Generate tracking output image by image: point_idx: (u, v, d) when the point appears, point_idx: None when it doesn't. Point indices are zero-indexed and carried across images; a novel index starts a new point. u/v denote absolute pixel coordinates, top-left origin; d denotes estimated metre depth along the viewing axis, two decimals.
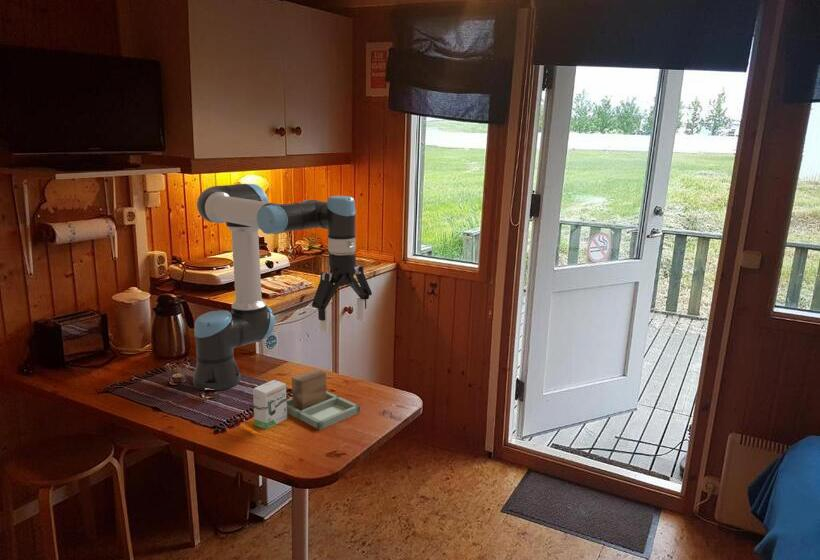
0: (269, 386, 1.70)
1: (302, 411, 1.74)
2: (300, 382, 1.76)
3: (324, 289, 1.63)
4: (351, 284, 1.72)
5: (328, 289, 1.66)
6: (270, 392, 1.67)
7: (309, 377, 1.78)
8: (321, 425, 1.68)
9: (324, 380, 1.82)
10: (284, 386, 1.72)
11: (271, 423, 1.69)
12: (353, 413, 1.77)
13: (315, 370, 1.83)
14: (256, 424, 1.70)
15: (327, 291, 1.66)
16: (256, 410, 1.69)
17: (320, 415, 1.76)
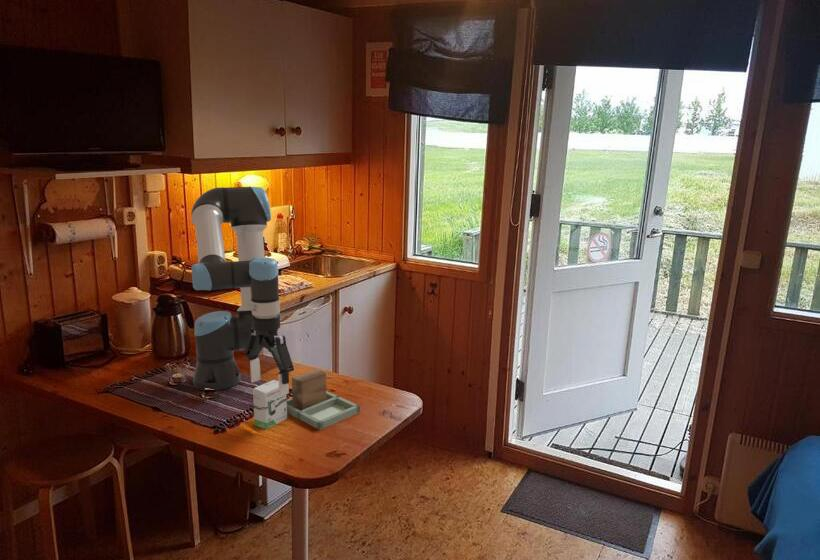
0: (269, 386, 1.70)
1: (302, 411, 1.74)
2: (300, 382, 1.76)
3: (248, 341, 1.71)
4: None
5: None
6: (270, 392, 1.67)
7: (309, 377, 1.78)
8: (321, 425, 1.68)
9: (324, 380, 1.82)
10: None
11: (271, 423, 1.69)
12: (353, 413, 1.77)
13: (315, 370, 1.83)
14: (256, 424, 1.70)
15: None
16: (256, 410, 1.69)
17: (320, 415, 1.76)
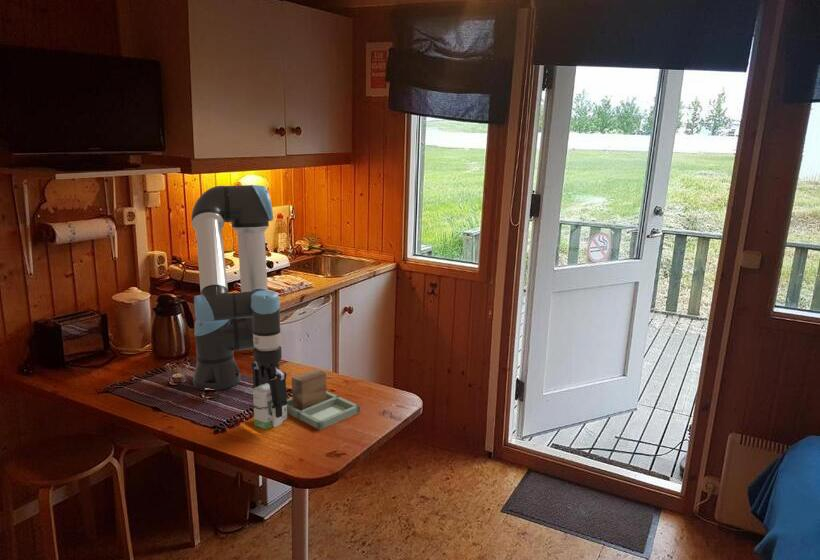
0: (269, 386, 1.70)
1: (302, 411, 1.74)
2: (300, 382, 1.76)
3: (253, 377, 1.73)
4: None
5: None
6: (270, 392, 1.67)
7: (309, 377, 1.78)
8: (321, 425, 1.68)
9: (324, 380, 1.82)
10: None
11: (271, 423, 1.69)
12: (353, 413, 1.77)
13: (315, 370, 1.83)
14: (256, 424, 1.70)
15: None
16: (256, 410, 1.69)
17: (320, 415, 1.76)
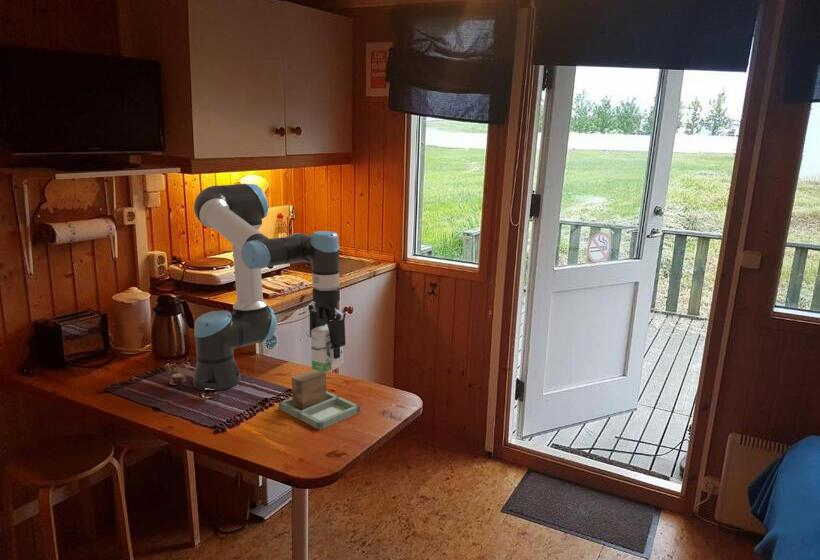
0: (326, 327, 1.70)
1: (302, 411, 1.74)
2: (300, 382, 1.76)
3: (310, 320, 1.73)
4: None
5: None
6: (328, 333, 1.68)
7: (309, 377, 1.78)
8: (321, 425, 1.68)
9: (324, 380, 1.82)
10: None
11: (329, 365, 1.70)
12: (353, 413, 1.77)
13: (315, 370, 1.83)
14: (314, 365, 1.70)
15: None
16: (314, 351, 1.69)
17: (320, 415, 1.76)
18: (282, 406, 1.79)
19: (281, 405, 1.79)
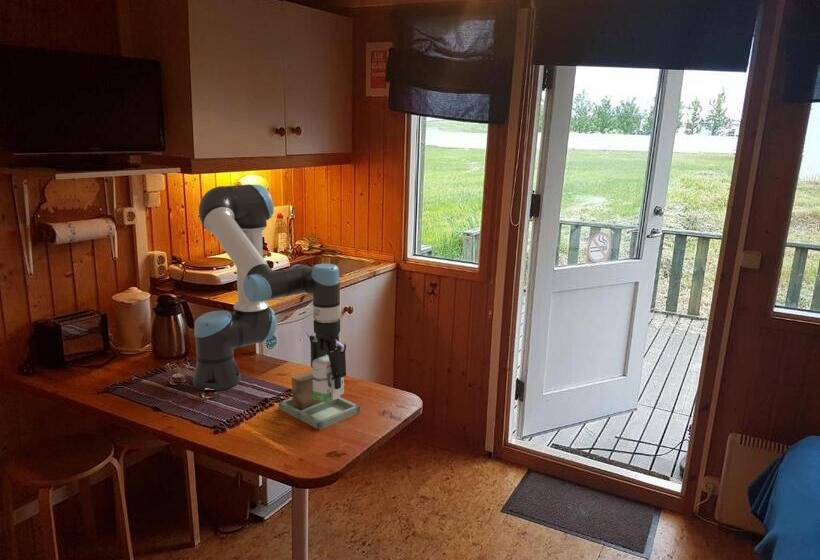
0: (327, 358, 1.72)
1: (302, 411, 1.74)
2: (300, 382, 1.76)
3: (311, 350, 1.75)
4: None
5: None
6: (329, 364, 1.70)
7: (309, 377, 1.78)
8: (321, 425, 1.68)
9: None
10: None
11: (330, 395, 1.72)
12: (353, 413, 1.77)
13: None
14: (315, 396, 1.72)
15: None
16: (315, 382, 1.71)
17: (320, 415, 1.76)
18: (282, 406, 1.79)
19: (281, 405, 1.79)
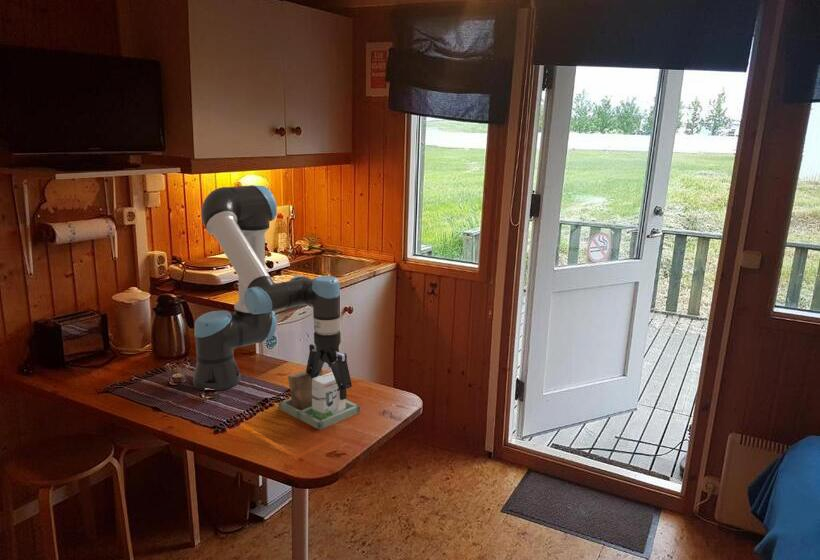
0: (327, 378, 1.74)
1: (302, 411, 1.74)
2: (296, 378, 1.77)
3: (309, 358, 1.76)
4: None
5: None
6: (328, 383, 1.71)
7: (305, 373, 1.80)
8: (321, 425, 1.68)
9: None
10: None
11: (328, 414, 1.73)
12: (353, 413, 1.77)
13: None
14: (314, 414, 1.74)
15: None
16: (314, 400, 1.73)
17: None
18: (282, 406, 1.79)
19: (281, 405, 1.79)
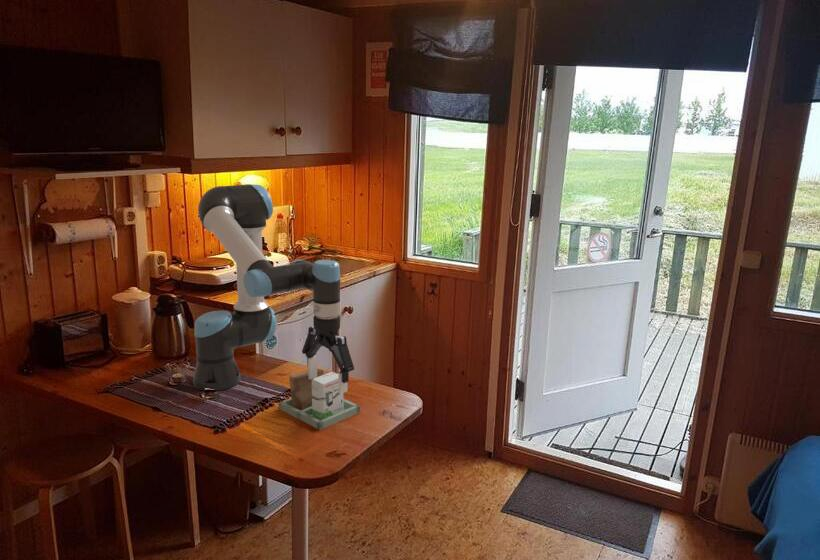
0: (327, 378, 1.74)
1: (302, 411, 1.74)
2: (297, 379, 1.77)
3: (307, 339, 1.76)
4: None
5: None
6: (328, 383, 1.71)
7: (306, 374, 1.79)
8: (321, 425, 1.68)
9: None
10: None
11: (328, 414, 1.73)
12: (353, 413, 1.77)
13: None
14: (314, 414, 1.74)
15: None
16: (314, 400, 1.73)
17: None
18: (282, 406, 1.79)
19: (281, 405, 1.79)
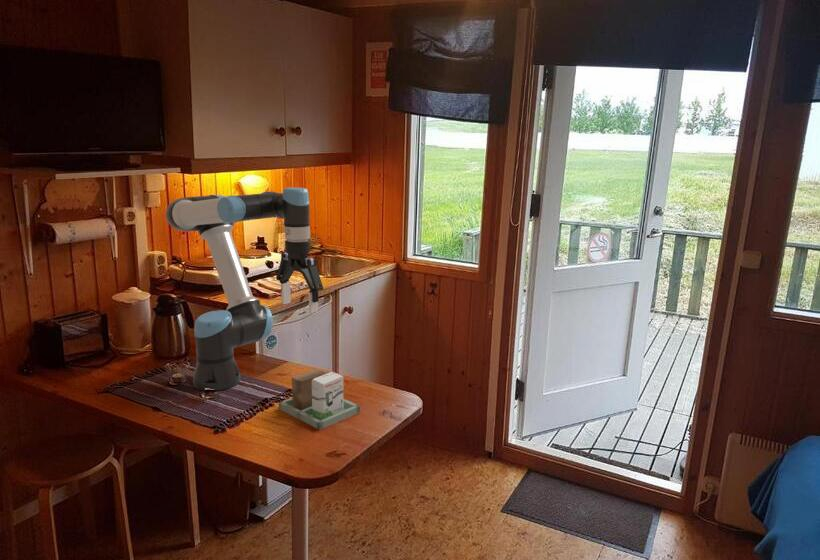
0: (327, 378, 1.74)
1: (302, 411, 1.74)
2: (300, 382, 1.76)
3: (280, 265, 1.87)
4: None
5: None
6: (328, 383, 1.71)
7: (309, 377, 1.78)
8: (321, 425, 1.68)
9: None
10: (342, 378, 1.76)
11: (328, 414, 1.73)
12: (353, 413, 1.77)
13: (315, 370, 1.83)
14: (314, 414, 1.74)
15: None
16: (314, 400, 1.73)
17: None
18: (282, 406, 1.79)
19: (281, 405, 1.79)
